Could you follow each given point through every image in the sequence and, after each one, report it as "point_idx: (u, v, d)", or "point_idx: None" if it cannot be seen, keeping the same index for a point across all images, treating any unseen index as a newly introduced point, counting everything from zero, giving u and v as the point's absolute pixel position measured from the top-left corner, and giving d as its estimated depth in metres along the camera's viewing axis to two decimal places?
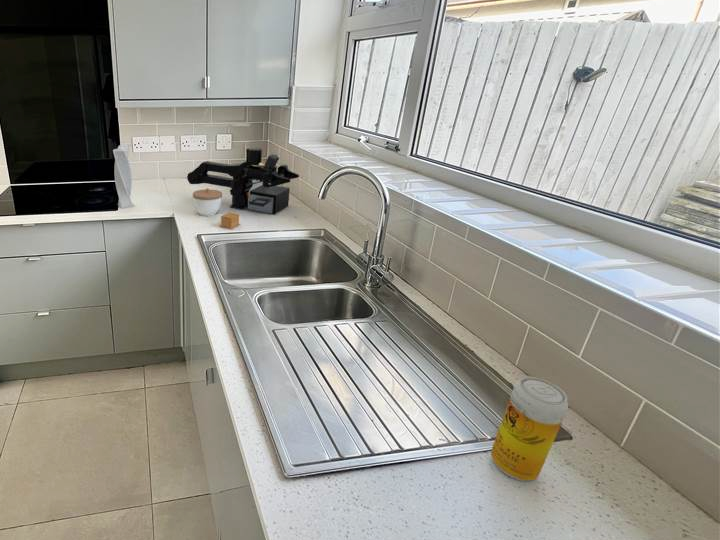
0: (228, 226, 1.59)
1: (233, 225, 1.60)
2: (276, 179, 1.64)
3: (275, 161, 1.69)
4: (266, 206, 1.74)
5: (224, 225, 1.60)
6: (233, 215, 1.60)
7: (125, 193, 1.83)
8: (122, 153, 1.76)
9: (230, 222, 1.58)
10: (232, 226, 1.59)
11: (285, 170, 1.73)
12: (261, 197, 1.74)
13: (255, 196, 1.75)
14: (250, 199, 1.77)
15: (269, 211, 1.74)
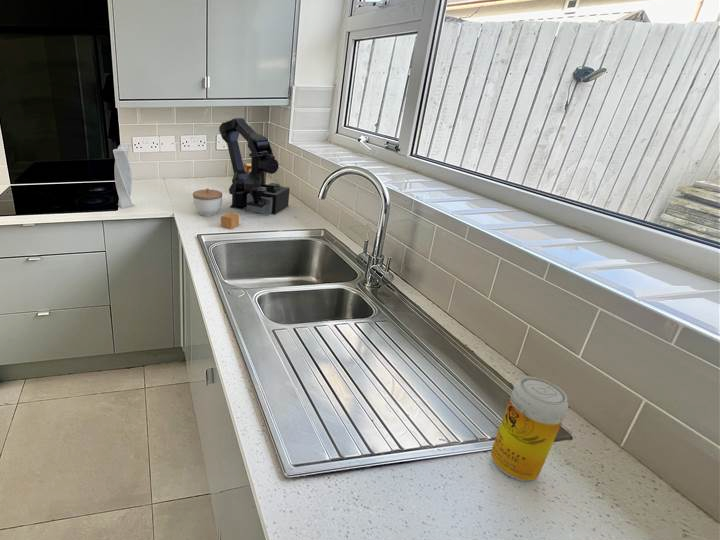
0: (228, 226, 1.59)
1: (233, 225, 1.60)
2: None
3: None
4: (264, 207, 1.72)
5: (224, 225, 1.60)
6: (233, 215, 1.60)
7: (125, 193, 1.83)
8: (122, 153, 1.76)
9: (230, 222, 1.58)
10: (232, 226, 1.59)
11: None
12: None
13: None
14: (248, 200, 1.76)
15: (267, 212, 1.72)
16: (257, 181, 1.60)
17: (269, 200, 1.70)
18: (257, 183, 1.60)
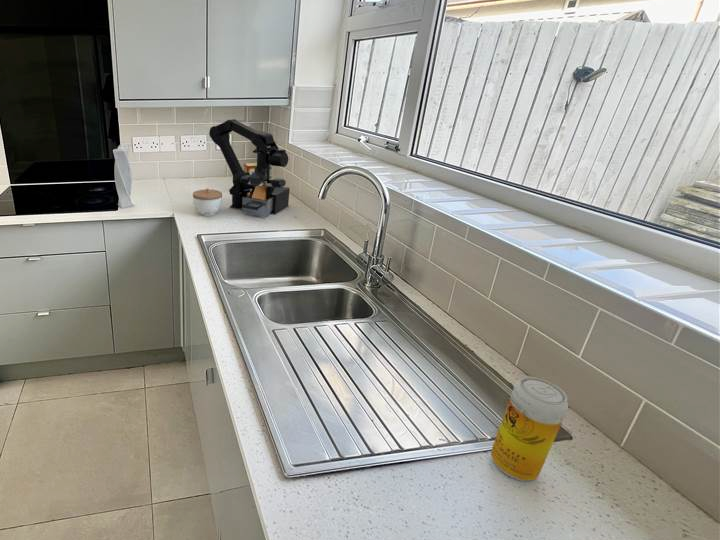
0: None
1: (265, 199, 1.72)
2: None
3: None
4: (260, 209, 1.69)
5: None
6: (262, 192, 1.70)
7: (125, 193, 1.83)
8: (122, 153, 1.76)
9: None
10: None
11: None
12: (255, 200, 1.69)
13: (249, 199, 1.71)
14: (244, 202, 1.72)
15: (263, 215, 1.69)
16: (263, 175, 1.63)
17: (265, 202, 1.67)
18: (263, 177, 1.63)
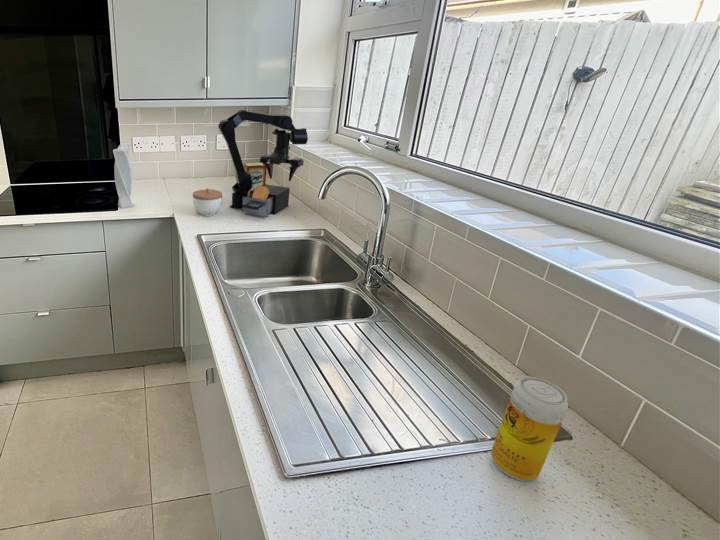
0: None
1: (265, 199, 1.72)
2: None
3: None
4: (260, 209, 1.69)
5: None
6: (262, 191, 1.70)
7: (125, 193, 1.83)
8: (122, 153, 1.76)
9: None
10: None
11: None
12: (255, 200, 1.69)
13: (249, 199, 1.71)
14: (244, 202, 1.73)
15: (263, 214, 1.69)
16: (282, 155, 1.71)
17: (265, 202, 1.67)
18: (282, 157, 1.71)
